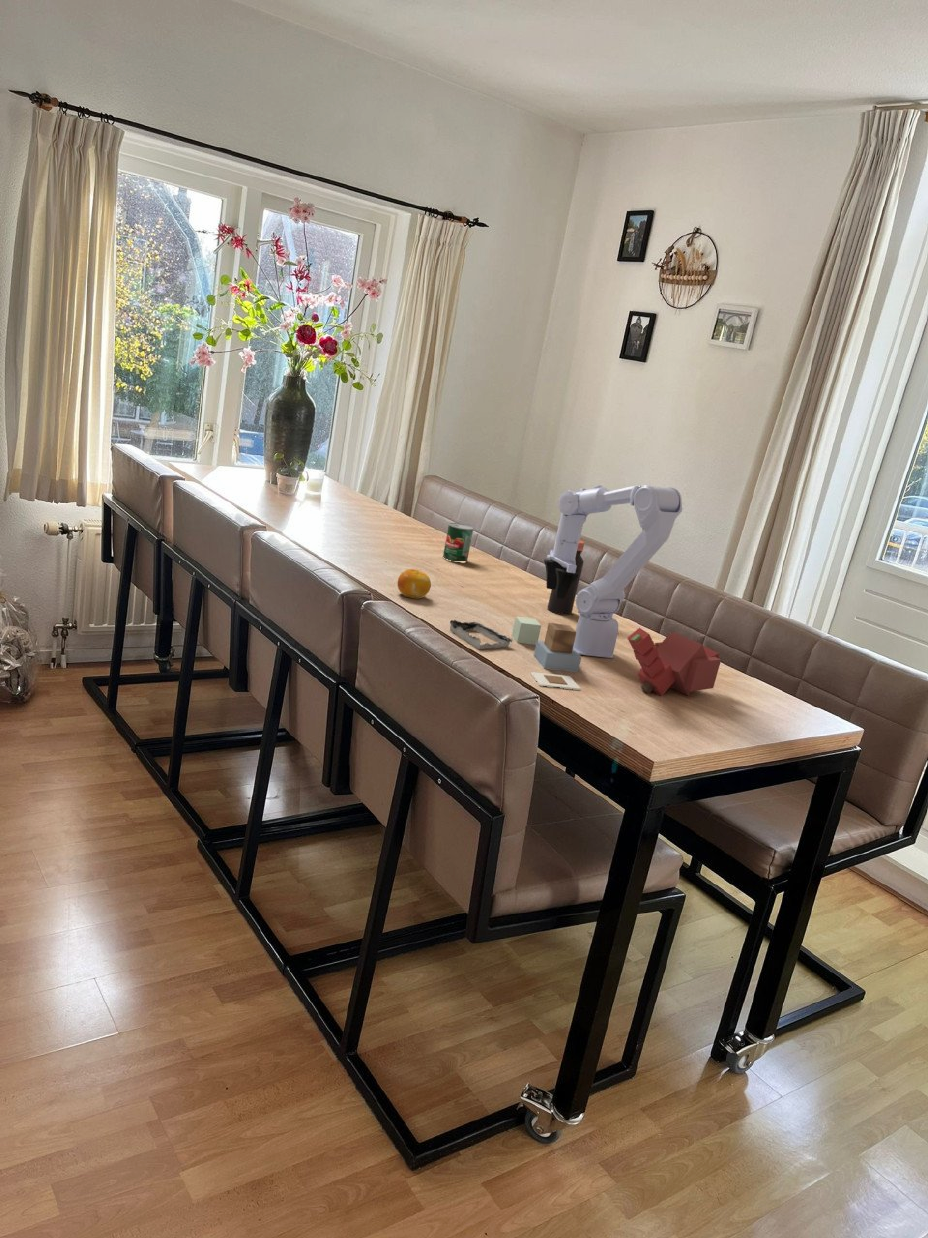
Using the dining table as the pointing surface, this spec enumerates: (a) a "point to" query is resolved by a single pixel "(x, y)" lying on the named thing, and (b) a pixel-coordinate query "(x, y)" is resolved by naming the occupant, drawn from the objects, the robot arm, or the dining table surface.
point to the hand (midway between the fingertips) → (555, 593)
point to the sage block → (526, 630)
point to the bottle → (567, 603)
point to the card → (555, 681)
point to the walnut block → (560, 638)
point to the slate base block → (556, 658)
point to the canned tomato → (458, 542)
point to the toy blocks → (674, 663)
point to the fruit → (414, 583)
